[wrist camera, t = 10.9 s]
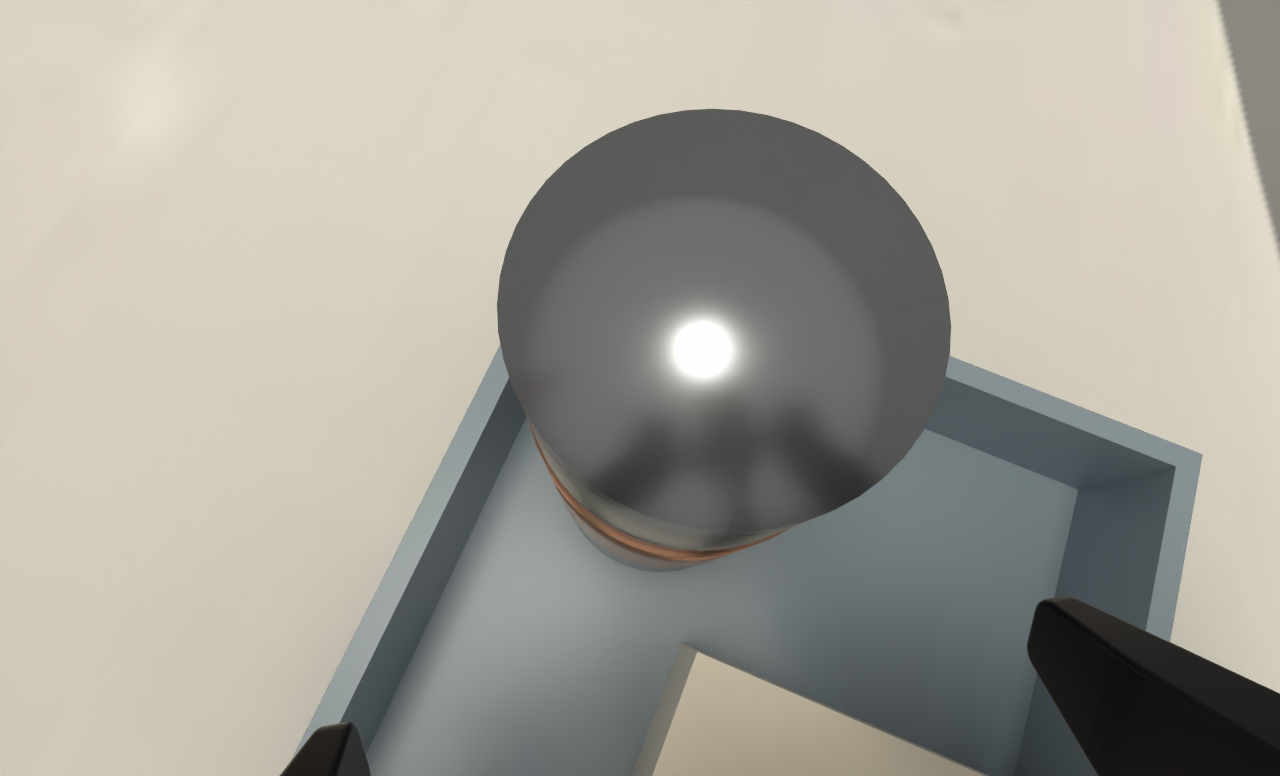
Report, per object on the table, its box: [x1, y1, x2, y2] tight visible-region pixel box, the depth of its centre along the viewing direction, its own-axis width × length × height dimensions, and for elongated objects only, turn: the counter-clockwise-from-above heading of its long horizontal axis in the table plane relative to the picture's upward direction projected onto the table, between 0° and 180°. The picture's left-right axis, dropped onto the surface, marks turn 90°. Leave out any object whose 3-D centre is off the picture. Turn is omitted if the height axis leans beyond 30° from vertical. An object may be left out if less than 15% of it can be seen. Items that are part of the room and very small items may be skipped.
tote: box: [291, 344, 1202, 776], centre depth 19 cm, size 18×18×4 cm
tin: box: [497, 109, 951, 572], centre depth 16 cm, size 6×6×13 cm
